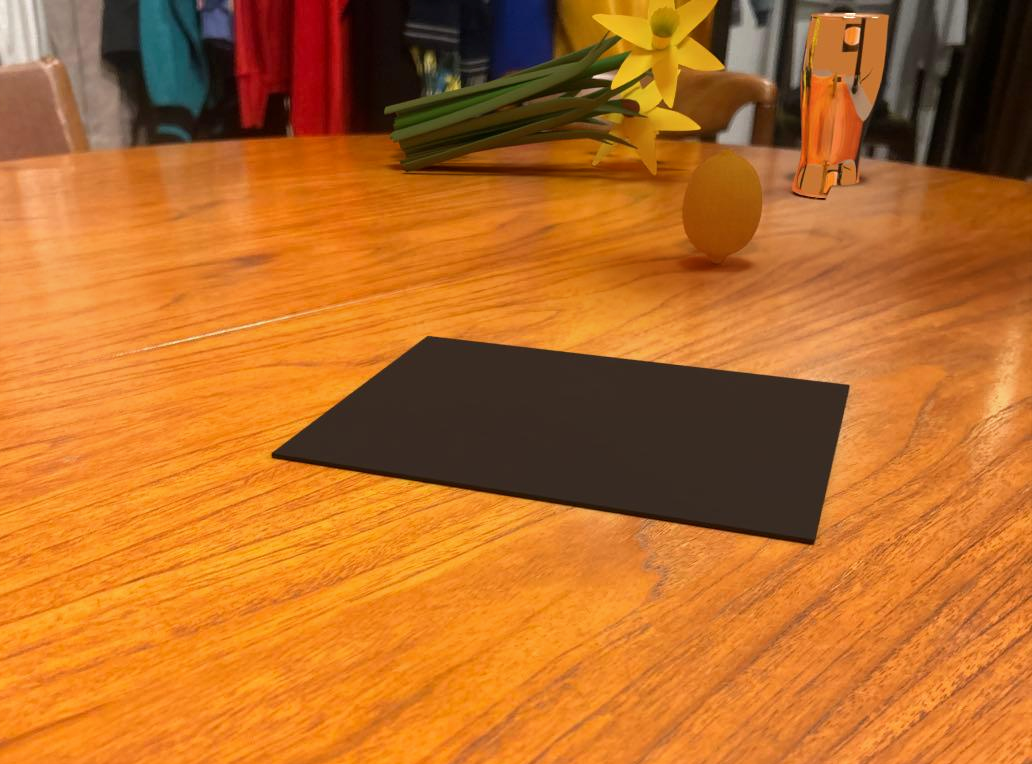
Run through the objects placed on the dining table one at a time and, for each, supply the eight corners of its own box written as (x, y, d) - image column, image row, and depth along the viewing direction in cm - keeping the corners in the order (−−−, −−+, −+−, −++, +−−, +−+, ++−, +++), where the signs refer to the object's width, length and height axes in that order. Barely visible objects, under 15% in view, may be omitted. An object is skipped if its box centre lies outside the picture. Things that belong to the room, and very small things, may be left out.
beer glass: (868, 201, 98) (898, 17, 91) (789, 199, 99) (812, 16, 92) (858, 186, 104) (885, 12, 97) (783, 184, 105) (804, 12, 98)
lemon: (728, 251, 82) (740, 140, 79) (770, 269, 78) (784, 151, 74) (664, 258, 81) (672, 144, 77) (703, 276, 76) (714, 157, 72)
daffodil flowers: (428, 158, 124) (739, 73, 114) (422, 251, 116) (755, 170, 106) (367, 29, 110) (714, -79, 100) (356, 127, 103) (730, 20, 93)
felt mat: (849, 388, 57) (849, 384, 57) (814, 544, 42) (814, 539, 42) (427, 338, 64) (427, 335, 64) (271, 457, 50) (271, 452, 49)
